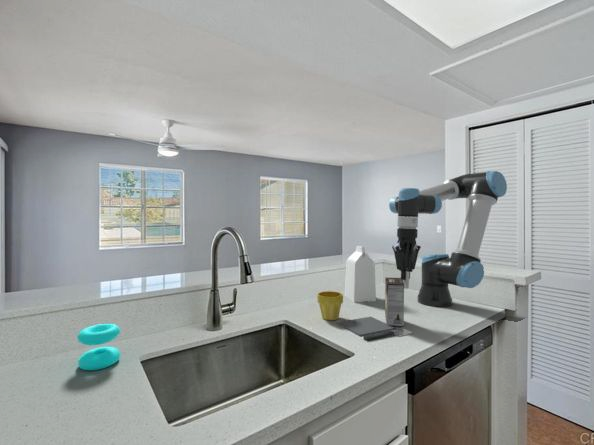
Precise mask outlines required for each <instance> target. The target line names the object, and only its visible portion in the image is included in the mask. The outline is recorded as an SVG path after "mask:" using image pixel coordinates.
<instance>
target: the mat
mask: <svg viewBox="0 0 594 445" xmlns="http://www.w3.org/2000/svg"><path fill="white" fill-rule="evenodd" d="M336 323H337V324H338V325H339V326H340V327H342V328H344V329H347V330H348V331H350V332H351V333H353V334H355V335H357V336H359V337H362V336H368V335H373V334H378V333H383V332H388V331H391V330H396V327H395V326H392V325H387V323H386V322H384V321H382V320H379V319H378V318H375V317H373V316H366V317H360V318H355V319H350V320H344V321H343V320H342V321H338V322H336Z"/></svg>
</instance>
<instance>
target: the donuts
mask: <svg viewBox="0 0 594 445" xmlns="http://www.w3.org/2000/svg"><path fill="white" fill-rule="evenodd" d="M120 331H121V329H120V327H119V326H118V325H117V324H114V323H100V324H93V325H91V326H87V327H85V328H83V329H82V330H81V331H80V332H78V334H77V340H78V342H79V343H81V344H82V345H86V346H98V345H99V347H96V348H91V349H90V350H87V351H86V352H84V353H83V354H81V356H80V357H79V359H78V361H77V365H78V367H79V368H80V369H81V370H84V371H97V370H98V371H99V370H103V369H105V368H108V367H111V366H113V365H114V364H116V363H117V362H118V361H119V359H120V358H121V353H120V350H119V349H118V348H117V347H114V346H100V345H103V344H107V343H110V342H111V341H113V340H114V339H116V338H117V337H118V336H119V335H120Z"/></svg>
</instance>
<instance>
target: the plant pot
mask: <svg viewBox="0 0 594 445" xmlns="http://www.w3.org/2000/svg"><path fill="white" fill-rule="evenodd" d="M316 295H317V303H318V304H319V308H320V309H319V310H320V313H321V318H322V319H323V320H325V321H336V320H338V319H339V318H340V313H341V306H342V304H343V303H344V294H343V293H342V292H340V291H333V290H328V291H327V290H326V291H325V290H324V291H320V292H318V293H317V294H316Z"/></svg>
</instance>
